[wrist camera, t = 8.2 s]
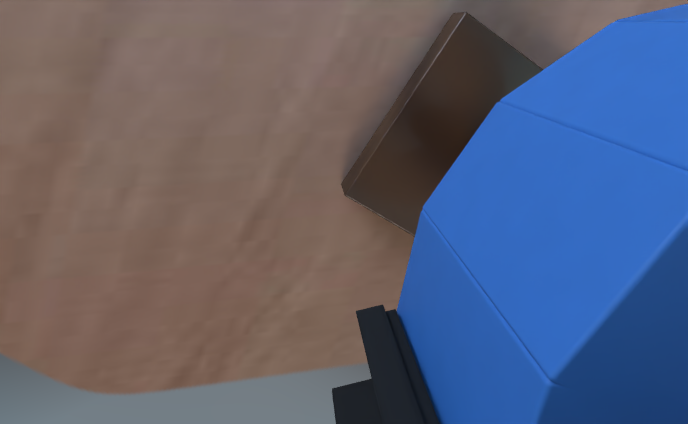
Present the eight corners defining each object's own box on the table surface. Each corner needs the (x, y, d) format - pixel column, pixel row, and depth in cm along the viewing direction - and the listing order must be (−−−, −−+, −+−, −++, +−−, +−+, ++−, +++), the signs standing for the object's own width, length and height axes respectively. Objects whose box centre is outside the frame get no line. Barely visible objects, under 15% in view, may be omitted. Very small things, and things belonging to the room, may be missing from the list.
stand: (453, 12, 20) (613, 1, 10) (601, 122, 22) (851, 200, 12) (340, 184, 22) (384, 314, 12) (487, 271, 24) (626, 442, 14)
